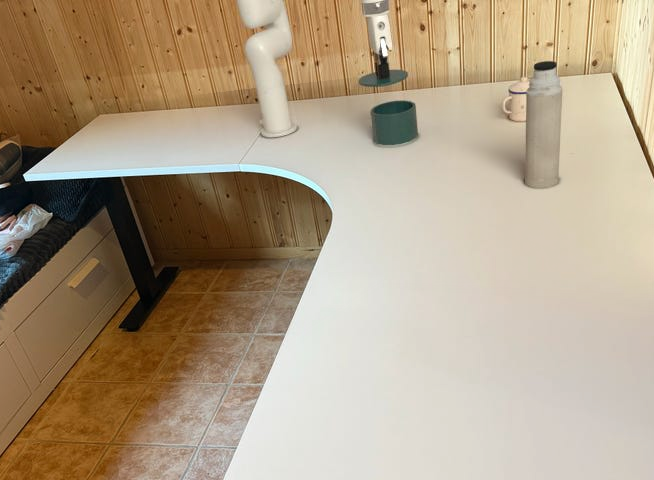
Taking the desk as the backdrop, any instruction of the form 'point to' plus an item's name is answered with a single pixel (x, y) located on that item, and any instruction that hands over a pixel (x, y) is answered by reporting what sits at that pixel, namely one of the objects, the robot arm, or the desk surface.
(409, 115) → the tin
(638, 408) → the desk surface
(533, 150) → the thermos bottle
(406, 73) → the lid
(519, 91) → the teacup with lid
